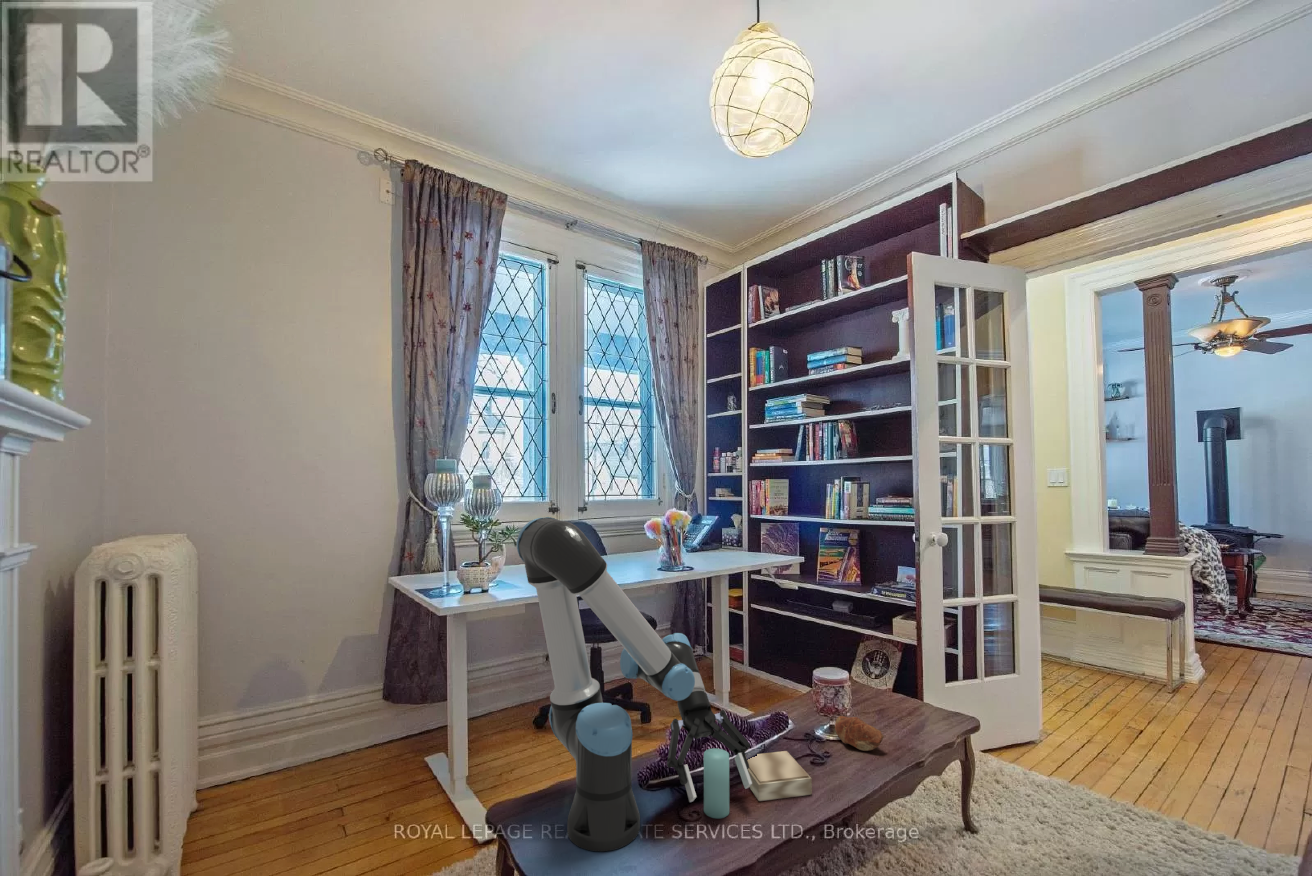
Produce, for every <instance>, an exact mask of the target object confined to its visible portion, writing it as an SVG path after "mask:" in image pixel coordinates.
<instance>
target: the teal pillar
mask: <svg viewBox="0 0 1312 876" xmlns="http://www.w3.org/2000/svg"><path fill="white" fill-rule="evenodd" d="M703 813H704V814H705V815H706V816H707V817H709V818H712V819H718V820H719V819H724V818H726V817H727V816H729V815H730V753H729V752H728V751H726V750H725V749H722V748H718V747H717V748H715V747H713V748H708V749H706V750H705V751H704V752H703Z"/></svg>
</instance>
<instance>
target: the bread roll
mask: <svg viewBox="0 0 1312 876" xmlns="http://www.w3.org/2000/svg"><path fill="white" fill-rule="evenodd" d="M834 729H835V734H836V735H837V737H838V739H840V740H841V741H842V743H843V744H845V745H850V746H852V747H854V748H856V749H858V750H859V751H864V752H868V751H873V750H875V749H876V748H878V747H879V746H881V743H882V742H883V739H884V738H885V735H884V734H883V733H882V731H881V730H879V729H877V728H876V727H874V726H873V725H870V724H868V723H867V722H865V721H864V720H862V719H861V718H859V717H857V716H852V717H851V716H850V717H849V716H845V715H844V716H843V715H839V716H838V717H837V718H836V719H835V723H834Z"/></svg>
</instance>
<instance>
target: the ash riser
mask: <svg viewBox="0 0 1312 876" xmlns="http://www.w3.org/2000/svg"><path fill="white" fill-rule="evenodd" d="M756 754H757V756H755V757H752V758H750V759H748V760H747V761H748V764H749V768H748V769H747V770H748V773H749V776H750V779H751V781H752V784H751V785H750V786H749V787H748V788H749V789H750V790H751V792H752V793H753V795H754V797H755V798H756V799H757V801H758V802H763V801H772V800H777V799H778V800H779V799H786V798H794V797H802V796H803V797H804V796H809V795H810V796H811V795H813V791H812V790H813V787H812V786H813V784H812V783H813V781H812V780H813V778H812V777H811V776H810V775H809V773H808V772H807V771H805V769H804V768H803V767H802V766H801V765H800V764H799V762H797V760H796V759H795V758H794V757H793V756H792V755H791V754H790V753H789V751H787V750H783V751H782V750H781V751H774V752H773V751H772V752H766V753H765V752H764V753H756Z"/></svg>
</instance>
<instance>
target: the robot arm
mask: <svg viewBox="0 0 1312 876" xmlns="http://www.w3.org/2000/svg"><path fill="white" fill-rule="evenodd" d="M516 550H517V554H518V556H519V558H520V559H521V561H522V562H523V563H524V564H523V565H524V568H525V573H526V578H527V583H528V585H531V586H532V587H534V588H535V589H536V594H537V600H538V604H539V605H538V606H539V609H540V610H539V611H540V615H541V620H542V626H543V631H544V637H545V642H546V647H547V653H548V660H549V663H550V668H551V669H550V670H551V674H552V679H553V683H554V684H553V685H554V688H553V690H552V691H551V693H550V695H549V700H550V708H549V712H548V713H549V715H548V719H549V725H550V727H551V730H552V732H553V735H554V736H555V737H556V739H557V740H558V741H559V742H560V743H561V744H562V745H563V747H564V748H565V749H566V750H567V752H569V754H570V755H571V757H573V759H574V760H575V767H576V768H575V773H576V775H575V777H576V779H575V782H576V784H575V785H576V787H575V793H574V797H573V800H572V803H571V806H570V810H569V812H568V816H567V825H566V826H567V828H566V829H567V831H566V832H567V836H568V838H569V840H570V841H571V842H572V843H573V844H574V845H575V846H577V847H579V848H581V849H583V850H587V851H590V852H591V851H593V852H609V851H613V850H614V851H615V850H619V849H620V848H623V847H625V846H627V845H628V844H630V843H632V842H633V841H634V840H635V839H636V838H637V836H639V832H640V829H641V816H640V811H639V807H638V805H637V801H636V798H635V795H634V794H635V793H634V792H633V789H632V788H633V787H632V786H633V784H632V779H633V777H632V772H633V770H632V769H633V768H632V766H633V764H632V763H633V758H632V756H633V754H632V753H633V729H632V720H631V717H630V714H629V713H628V712H627V711H626V709H624V708H623V707H621V706H619V705H617V704H613V705H612V703H610V702H603V697H602V690H601V685H600V682H599V681H598V680H597V679H596V678H593V677H592V674H591V668H590V663H589V658H588V651H587V646H586V641H585V640H586V639H585V636H584V630H583V626H582V625H583V624H582V619H581V615H580V609H579V603H578V597H577V596H578V595H579V596H580V598H581V599H582V600H583V601H584V602H585V604H586V605H587V606H588V607H589V608H590V609H591V611H592V612H593V613H594V615H596V616H597V618H599V620H600V622H601V623H602V624H603V625H604V626H605V627H606V629H608V631H609V633H611V634H612V636H614V638H615V640H616V641H618V643H619V644H620V645H621V646H622V648H623V649H622V651H621V653H620V660H619V666H620V671H621V674H622V676H623V677H624V678H625V679H634V680H636V679H642V680H643V681H645V682H646V683H647V684H649V685H650V686H651V687H653V688H655V689H656V690H658V691H659V692H660V693H662V694H663V695H664V696H665V697H666V698H667V699H671V700H673V701H676V702H677V703H676V705H677V708H678V711H679V714H680V717H681V719H680V720H678V719H677V718H673V720H672V722H671V723H670V731H671V732H670V733H671V735H670V742H669V747H668V748H669V749H668V756H667V759H666V760H667V762H666V767H667V768H669V769H670V768H671V769H672V768H673V769H674V771H676V772H677V775H678V779H679V782H680V785H684V787H685V790H686V794H687V798H688V802H689V803H692V802H694V801H695V799H696V798H698V796H697V793H696V791H695V786H694V783H693V779H692V776H691V772H690V769H689V766H688V764H684V763H685V760H686V758H687V754H688V752H689V749H690V747H691V746H692V745H691V744H692V741H693V739H696V740H698V739H700V738H709V736H711V738H713V739H716V740H717V741H719V743H721V744H722V745H724V746H725V748H727V749H728V750H729V751H730V752H732V753H734V754H735V755H736V756H735V757H734V761H735V764H736V768H737V770H738V772H739V773H738V774H739V776H740V779H741V782H742V784H743V787H744V789H749V788H750V787H749V786H750V785H751V784H752V781H751V779H750V776H749V773H748V770H747V769H748V768H749V764H748V761H747V758H746V755H747V754H746V752H747V750H749V749H750V748H751V744H750V743H749V741H748V740H747V739H746V738H745V736H744V735H743V734H742V732H740V730H738V728H737V727H736V726H735V725H734V724H733V722H732V721H731V719H729V717H728V715H727V713H726V711H725V710H724V709H722V710H720V712H718V713H714V712H713V710H712V706H711V703H710V699H709V697H708V694H707V692H706V688H705V685H704V682H703V679H702V676H701V674H700V670H699V667H698V665H697V661H696V658H695V654H694V652H693V648H692V645H691V643H690V641H689V639H688V636H686V635H685V634H684V633H682V632H674V633H673V634H668V635H666V636H664V637H663V638H662V637H660V635H659V634H658V633H657V632H656V630H655V629H654V628H653V627H652V626H651V624H650V623H649V622H648V620H646V618H645V617H644V616H643V614H642V613H641V611H640V610H639V609H638V608H637V607H636V605H634V603H633V602H632V600H631V599H630V598H629V597H628V596H627V594H626V593H625V592H624V590H623V589H622V588H621V587H620V585H618V583H617V582H616V581H615V579H614V578H613V577H612V576H611V574H610V573H609V572H608V571H607V570H608V564H607V562H606V561H605V559H604V557H602V555H601V554H600V553H599V551H598V550H597V549H596V547H595V546H594V545H593V544H592V542H591V541H590V539H588V537H587V536H586V534H585V533H584V532H583V531H582V530H581V529H580V528H579V527H578V526H577V525H575V524H574V523H572V522H569V521H566V520H559V519H556V518H554V517H552V516H551V517H549V516H547V517H545V516H544V517H537V518H534V519H532V520H529V521H528V522H527V523H526V524H525V525H523V527H522V528H521V530H520V531H519V534H518V536H517V539H516ZM716 721H717V723H716ZM719 724H720V725H721V727H722V728H723V729H724V731H723V729H721V727H720V726H719ZM682 728H683V729H684V730H685V731H686V732H687V733H686V736H685V739H684V742H683V745H682V747H681V749H680V752H679V755H678V756H677V751H678V743H679V738H680V737H679V736H680V731H681V729H682ZM676 757H678V758H676Z"/></svg>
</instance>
